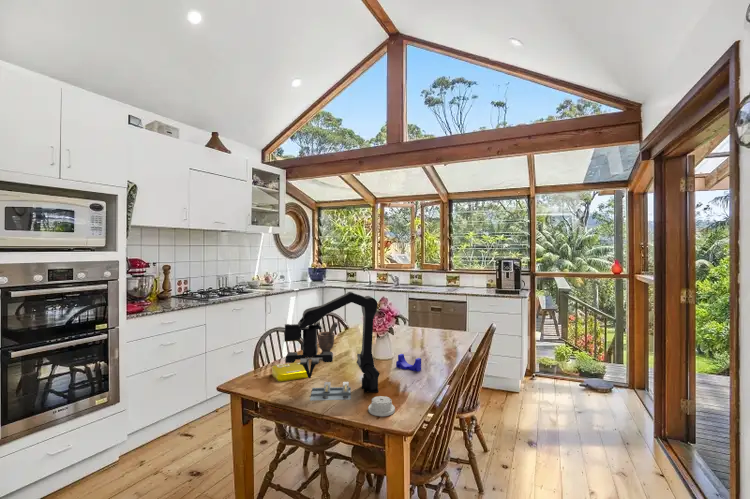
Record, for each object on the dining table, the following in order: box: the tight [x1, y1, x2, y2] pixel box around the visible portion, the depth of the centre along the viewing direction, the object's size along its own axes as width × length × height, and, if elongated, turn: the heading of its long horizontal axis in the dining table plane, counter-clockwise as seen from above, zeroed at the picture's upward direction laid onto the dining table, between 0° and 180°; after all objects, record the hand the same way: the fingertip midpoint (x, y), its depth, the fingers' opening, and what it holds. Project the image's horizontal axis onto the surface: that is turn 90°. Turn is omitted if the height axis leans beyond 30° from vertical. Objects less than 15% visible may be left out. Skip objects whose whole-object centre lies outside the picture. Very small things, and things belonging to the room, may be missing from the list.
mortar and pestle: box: [317, 322, 339, 354], centre depth 206 cm, size 12×9×20 cm
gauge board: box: [309, 381, 352, 401], centre depth 154 cm, size 16×12×4 cm
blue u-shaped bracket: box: [395, 353, 422, 373], centre depth 188 cm, size 12×4×6 cm, turn 50°
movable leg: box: [323, 381, 332, 393], centre depth 154 cm, size 2×8×4 cm, turn 4°
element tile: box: [271, 361, 309, 382], centre depth 177 cm, size 15×15×5 cm
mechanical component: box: [367, 395, 396, 417], centre depth 142 cm, size 10×4×10 cm
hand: (309, 377), depth 155 cm, fingers closed
